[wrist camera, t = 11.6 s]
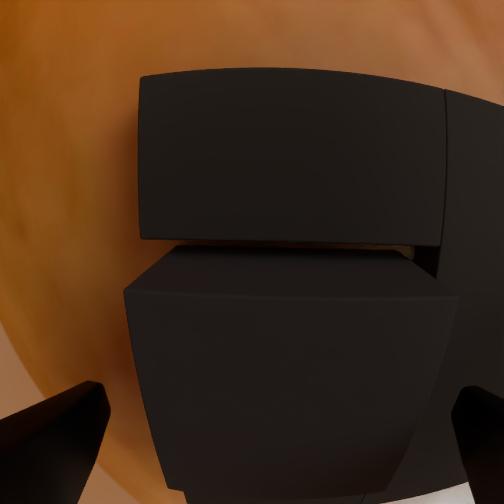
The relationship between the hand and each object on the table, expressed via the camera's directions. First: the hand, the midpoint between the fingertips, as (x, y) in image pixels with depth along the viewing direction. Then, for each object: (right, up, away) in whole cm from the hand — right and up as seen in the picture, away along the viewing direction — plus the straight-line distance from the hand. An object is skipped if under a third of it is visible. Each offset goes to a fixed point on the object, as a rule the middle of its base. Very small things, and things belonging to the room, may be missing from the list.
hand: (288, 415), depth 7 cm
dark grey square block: (0, +1, +3) cm, 3 cm away
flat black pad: (+7, +1, +2) cm, 7 cm away
